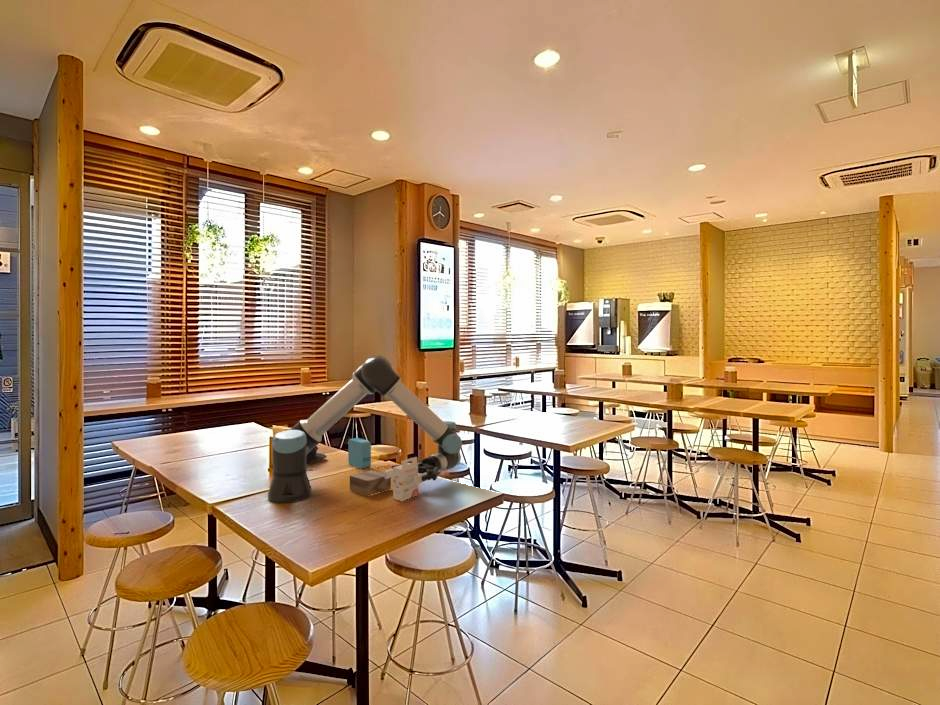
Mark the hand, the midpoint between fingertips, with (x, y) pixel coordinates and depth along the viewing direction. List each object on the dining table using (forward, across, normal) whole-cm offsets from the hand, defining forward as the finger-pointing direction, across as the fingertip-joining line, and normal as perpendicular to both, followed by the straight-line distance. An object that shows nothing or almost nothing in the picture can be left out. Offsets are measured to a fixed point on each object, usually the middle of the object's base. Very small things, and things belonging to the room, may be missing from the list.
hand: (399, 477), depth 180 cm
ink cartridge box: (-3, 0, -8) cm, 9 cm away
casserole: (-17, +73, -8) cm, 75 cm away
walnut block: (-3, +17, -8) cm, 19 cm away
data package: (-27, +45, -8) cm, 53 cm away
